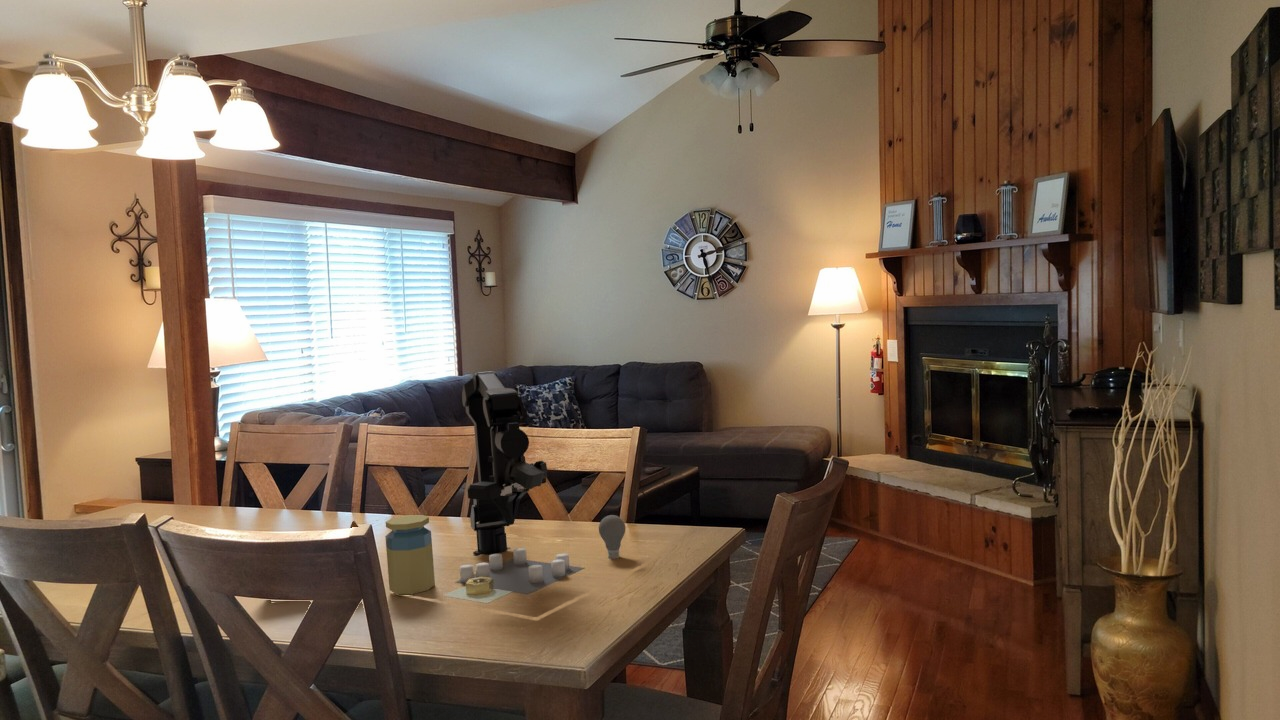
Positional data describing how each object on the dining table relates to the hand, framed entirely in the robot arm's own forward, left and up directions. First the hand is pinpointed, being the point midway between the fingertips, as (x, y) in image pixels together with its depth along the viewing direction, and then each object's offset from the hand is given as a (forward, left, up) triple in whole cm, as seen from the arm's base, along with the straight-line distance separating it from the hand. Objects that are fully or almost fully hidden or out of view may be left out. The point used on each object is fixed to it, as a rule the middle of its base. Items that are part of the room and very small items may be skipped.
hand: (510, 524), depth 191 cm
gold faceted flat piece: (-1, -10, -11) cm, 15 cm away
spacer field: (0, +2, -12) cm, 12 cm away
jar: (-16, -14, -12) cm, 24 cm away
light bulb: (+11, +21, -12) cm, 27 cm away
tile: (0, -11, -12) cm, 16 cm away
